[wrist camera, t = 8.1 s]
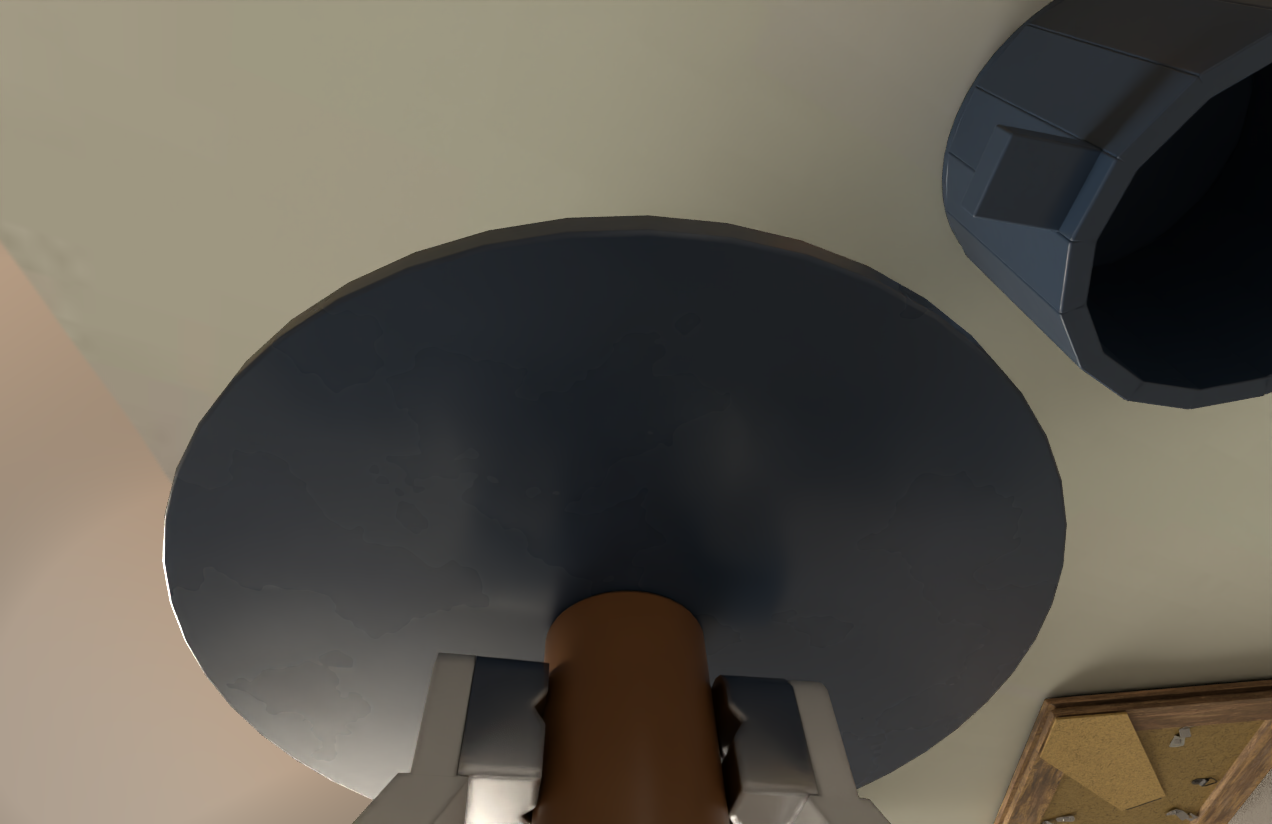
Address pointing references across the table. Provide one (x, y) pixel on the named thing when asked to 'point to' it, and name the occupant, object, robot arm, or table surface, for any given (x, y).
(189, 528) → the lid
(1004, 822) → the picture frame
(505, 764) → the robot arm
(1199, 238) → the pot
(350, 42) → the table surface
